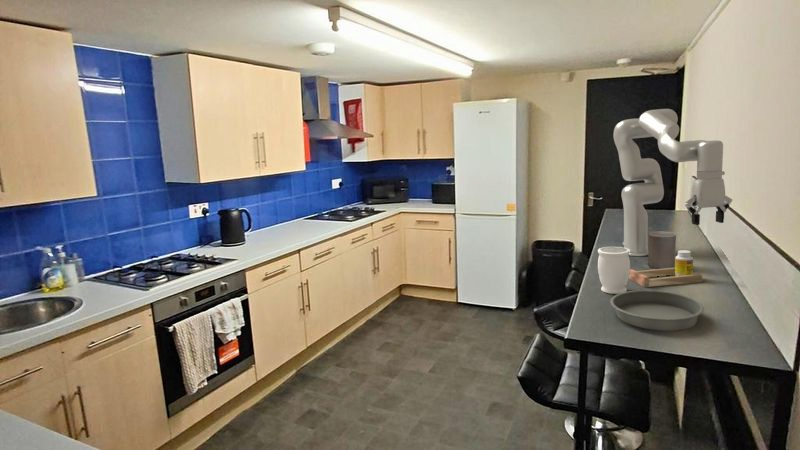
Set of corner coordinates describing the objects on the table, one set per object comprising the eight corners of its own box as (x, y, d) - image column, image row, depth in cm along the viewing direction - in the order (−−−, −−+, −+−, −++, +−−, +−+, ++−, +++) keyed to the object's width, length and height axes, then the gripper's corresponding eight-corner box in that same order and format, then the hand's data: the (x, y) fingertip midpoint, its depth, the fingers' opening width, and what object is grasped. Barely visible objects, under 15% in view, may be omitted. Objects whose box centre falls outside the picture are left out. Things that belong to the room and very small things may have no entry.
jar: (605, 284, 171) (604, 245, 169) (634, 288, 164) (634, 248, 161) (593, 292, 164) (592, 251, 162) (623, 297, 157) (623, 254, 154)
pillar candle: (642, 265, 190) (642, 230, 187) (661, 261, 193) (662, 226, 190) (661, 271, 181) (662, 234, 178) (681, 267, 183) (682, 230, 181)
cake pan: (618, 298, 157) (618, 286, 156) (705, 309, 142) (705, 295, 142) (602, 325, 137) (602, 310, 136) (701, 339, 123) (701, 324, 122)
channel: (627, 278, 176) (627, 269, 175) (681, 273, 177) (681, 264, 176) (644, 287, 165) (645, 277, 164) (702, 281, 165) (702, 272, 165)
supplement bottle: (687, 281, 167) (688, 254, 165) (671, 278, 172) (672, 251, 170) (695, 277, 170) (696, 251, 168) (679, 275, 175) (680, 248, 173)
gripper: (725, 172, 168) (723, 219, 171) (678, 177, 168) (677, 223, 171) (741, 174, 161) (738, 223, 164) (692, 178, 161) (691, 227, 164)
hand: (707, 223), depth 168 cm, fingers open, 8 cm apart
